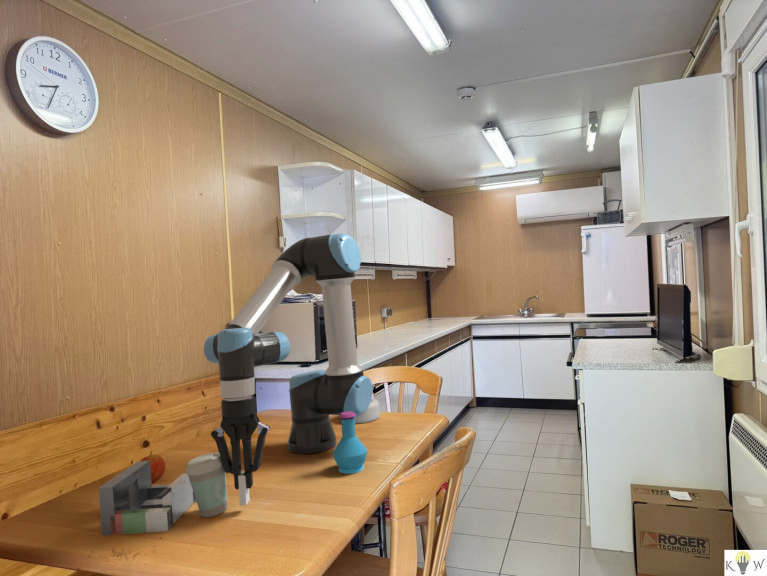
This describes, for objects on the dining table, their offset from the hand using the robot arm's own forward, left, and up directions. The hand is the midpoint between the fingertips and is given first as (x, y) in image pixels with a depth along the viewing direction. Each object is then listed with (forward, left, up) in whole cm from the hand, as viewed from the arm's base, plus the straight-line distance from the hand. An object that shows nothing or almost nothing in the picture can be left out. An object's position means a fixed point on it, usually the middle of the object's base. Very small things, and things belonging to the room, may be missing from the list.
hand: (244, 502), depth 111 cm
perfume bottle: (-22, -23, -2) cm, 32 cm away
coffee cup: (+7, -1, -2) cm, 7 cm away
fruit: (+32, -23, -2) cm, 39 cm away
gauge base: (+21, -1, -2) cm, 21 cm away
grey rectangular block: (+19, +1, -2) cm, 19 cm away
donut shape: (-21, -75, -2) cm, 77 cm away
